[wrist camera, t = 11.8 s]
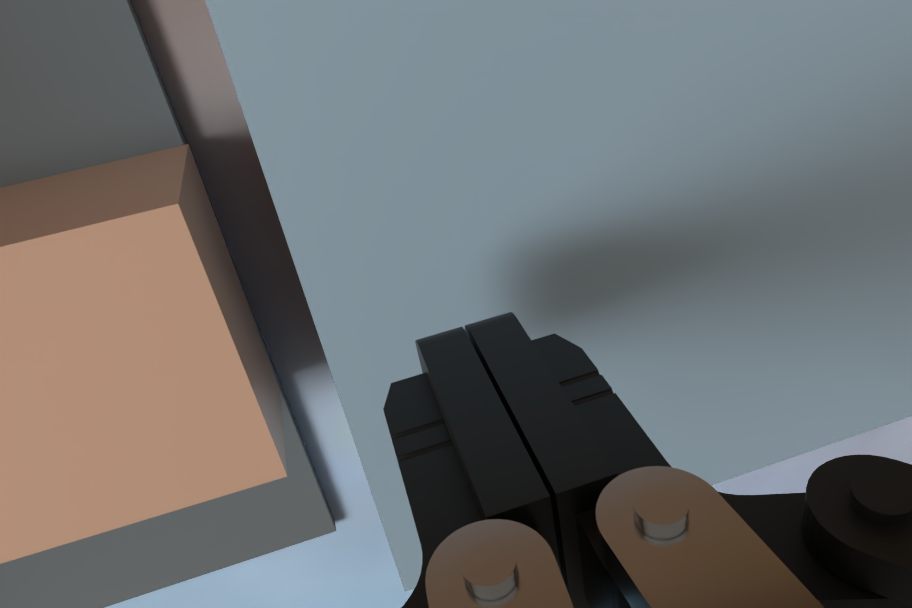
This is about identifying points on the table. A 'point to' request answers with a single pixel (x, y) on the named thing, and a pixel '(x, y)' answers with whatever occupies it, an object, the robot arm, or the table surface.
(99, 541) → the mat
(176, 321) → the tan rectangular block
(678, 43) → the block
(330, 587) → the table surface
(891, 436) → the table surface
